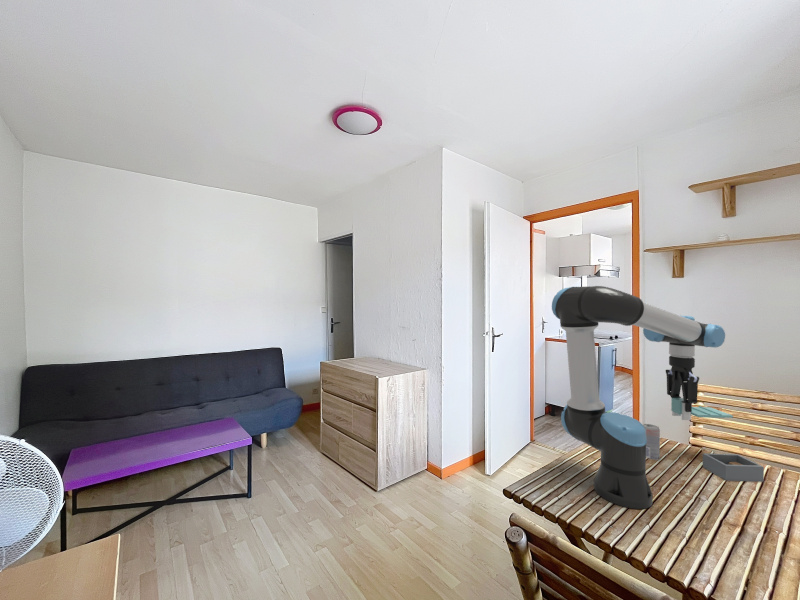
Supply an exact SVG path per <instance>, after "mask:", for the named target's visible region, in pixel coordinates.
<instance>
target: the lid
mask: <svg viewBox="0 0 800 600" xmlns="http://www.w3.org/2000/svg"><path fill="white" fill-rule="evenodd" d="M682 401H684V400H683V397H681V398H671V409H670V410H671V412H672V411H673V412H675V413H678V414H681V415H682ZM691 416H695V417H697V418H707V419H708V418H712V419H714V418H715V419H718V418H719V419H720V418H722V419H725V418H727V419H731V418H734V415H733V414H730V413H727V412H725V411H722V410H719V409H716V408H713V407H711V406H708V407H707V406H701V405H700V406H699V405H698V406H692V411H691Z"/></svg>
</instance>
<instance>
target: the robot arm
mask: <svg viewBox="0 0 800 600" xmlns="http://www.w3.org/2000/svg"><path fill="white" fill-rule="evenodd" d="M551 311H552V313H553V316H555V317H556V318H557V319H559V322H560V323H559V324H560V328H561V329H563V330H564V331H565V339H566V351H567V363H568V374H569V375H568V376H569V388H570V398H569V399H568V400H567V401H566V405H565V406H564V408H563V411H561V415H560V421H561V425H562V427H563V429H564V431H565V432H566V434H568V435H570V436H571V437H573V438H574V439H575V440H577V441H580V442H582V443H584V444H586V445H587V446H590V447H592V448H594V449H596V450H598V451H600V464H599V467H598V469H597V471H596V475H595V477H594V479H593V489H594V491H595V492H596V493H597V494H598V495H599V496H600V497H602V498H603V499H604V500H606V501H608V502H610V503H612V504H614V505H618V506H621V507H623V508H629V509H634V510H635V509H636V510H642V509H648V508H651V507H652V505H653V501H654V499H653V497H654V496H653V492H652V489H651V487H650V484H649V481H648V477H647V475H646V474H647V473H646V468H647V466H646V462H647V458H646V443H647V439H646V431H645V428H644V426H643V423H642V422H640V421H639V420H638V419H636V418H634V417H632V416H629V415H626V414H621V413H620V412H613V411H611V412H610V411H609V412H608V411H607V412H606V405H605V403H604V402H603V401H602V400H600V393H599V392H600V391H599V381H598V370H597V369H598V367H597V357H596V346H595V345H596V343H595V330H596V328H598V327H599V323H609V324H619V325H622V326H626V327H630V326H635V327H638V328H641V329H642V328H643V329H642V330H643V331H642V333H643V336H644V337H645V339H646V340H647V341H649V342H655V343H661V342H663V343H669V344H668V354H669V357H668V364H669V366H671V368H670V369H665V374H666V394H667V396H670V398H671V399H672V398H683V400H684V401H682V414H678V413H675V412H673V411H671V415H672V416H674V417H681V420H682V421H691V420H692V417H691V416H692V415H691V411H692V407H693V404H697V403H698V392H699V391H698V390H699V389H698V387H699V386H698V385H699V381H700V377H699V376H695V374H693V373H694V372H693V368H695V367H696V366H695V365H696V363H695V362H696V361H695V360H696V359H695V355H696V354H695V350H696V349H695V346H697V347H705V348H719V347H721V346H723V344H725V340H726V331H725V330H724V328H723V327H722V326H721V325H719V324H712V323H704V322H702V323H701V322H699V321H697V320H695V317H694V316H691V315H679V314H676V313H673V312H672V311H671V312H670V311H668V310H665V309H661V308H659V307H657V306H653V305H651V304H649V303H646V302H644V301H643V299H642V298H640V297H638V296H636V295H633V294H630V293H628V292H627V293H626V292H624V291H622V290H618V289H616V288H612V287H608V286H602V285H594V286H593V285H591V286H571V287H565V288H562V289H560V290H559V291H558V292H557V293H556V294H555V295H554V297H553V298H552V301H551ZM681 392H682V396H680V395H681Z"/></svg>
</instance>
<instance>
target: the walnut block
mask: <svg viewBox="0 0 800 600" xmlns="http://www.w3.org/2000/svg"><path fill="white" fill-rule="evenodd" d="M728 465H742V464H740V463H737V462H729V463H728Z"/></svg>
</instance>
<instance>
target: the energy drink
mask: <svg viewBox="0 0 800 600" xmlns="http://www.w3.org/2000/svg"><path fill="white" fill-rule="evenodd" d="M642 425H643V426H644V428H645V431H646V439H647V443H646V459H649V460H660V457H661V456H660V453H661V452H660V450H661V449H660V446H661V441H660V438H661V430H660V427H659V426H657V425H654V424H649V423H644V424H643V423H642Z"/></svg>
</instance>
